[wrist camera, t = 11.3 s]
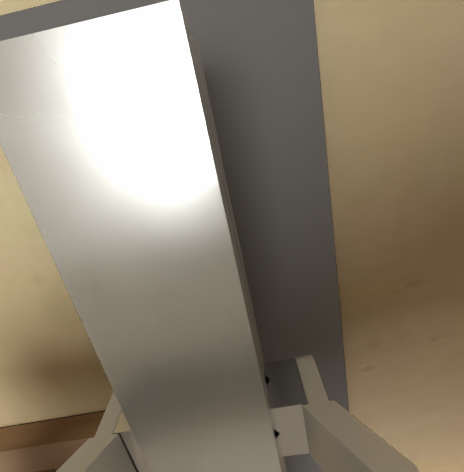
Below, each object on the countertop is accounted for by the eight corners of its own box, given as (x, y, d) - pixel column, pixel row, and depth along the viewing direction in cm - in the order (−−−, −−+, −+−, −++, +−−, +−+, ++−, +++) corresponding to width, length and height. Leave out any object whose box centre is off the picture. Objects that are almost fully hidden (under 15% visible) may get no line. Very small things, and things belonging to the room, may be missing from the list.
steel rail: (199, 46, 7) (178, -2, 4) (297, 524, 13) (316, 633, 10) (67, 76, 7) (-43, 51, 4) (228, 533, 13) (229, 643, 11)
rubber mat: (300, -45, 8) (307, -61, 7) (350, 482, 16) (356, 500, 15) (-22, 34, 9) (-45, 26, 8) (181, 505, 17) (179, 524, 16)
